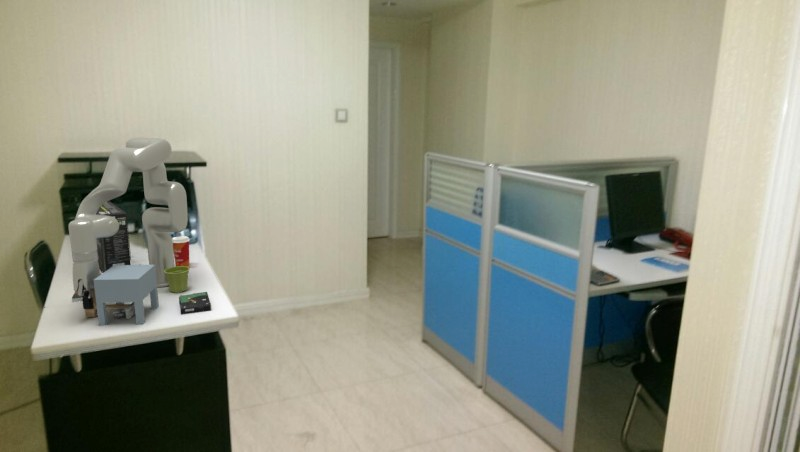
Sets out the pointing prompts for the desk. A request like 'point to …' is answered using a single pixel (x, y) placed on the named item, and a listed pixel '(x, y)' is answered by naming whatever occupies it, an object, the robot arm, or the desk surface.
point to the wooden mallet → (110, 307)
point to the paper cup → (181, 250)
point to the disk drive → (194, 303)
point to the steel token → (119, 313)
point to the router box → (114, 240)
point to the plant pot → (177, 278)
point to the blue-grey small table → (126, 289)
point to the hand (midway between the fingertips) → (91, 306)
